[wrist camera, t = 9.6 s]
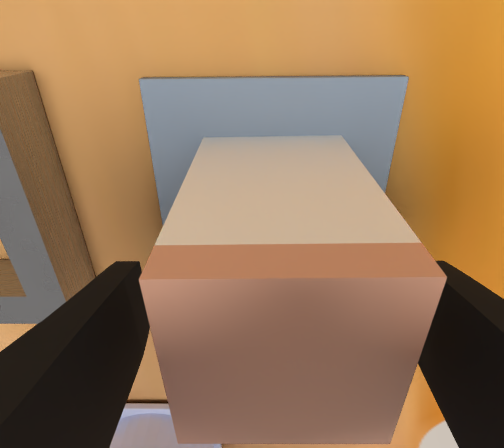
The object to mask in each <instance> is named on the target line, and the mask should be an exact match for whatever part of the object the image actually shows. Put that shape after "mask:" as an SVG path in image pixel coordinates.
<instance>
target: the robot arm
mask: <svg viewBox="0 0 504 448" xmlns="http://www.w3.org/2000/svg"><path fill="white" fill-rule="evenodd" d="M436 263H437V264H438V265H439V267H440V268H441V269H442V271H443V272H444V273H445V275H446V276H447V279H446V282H445V285H444V288H443V291H442V294H441V297H440V300H439V303H438V305H437V308H436V311H435V314H434V317H433V320H432V323H431V326H430V329H429V332H428V335H427V338H426V340H425V343H424V346H423V349H422V352H421V355H420V358H419V361H418V364H419V366H420V368H421V371H422V373H423V375H424V377H425V379H426V381H427V383H428V385H429V387H430V389H431V391H432V394H433V396H434V398H435V400H436V402H437V404H438V406H439V408H440V410H441V412H442V414H443V416H444V418H445V420H446V422H447V424H448V426H449V428H450V430H451V432H452V435H453V437H454V438H455V441H456V443H457V445H458V447H459V448H504V299H503V298H501V297H500V296H498V295H497V294H495V293H494V292H492V291H491V290H489V289H488V288H486V287H485V286H483V285H482V284H480V283H478V282H477V281H475V280H474V279H472V278H471V277H469V276H468V275H466V274H465V273H463V272H462V271H460V270H458V269H457V268H455V267H453V266H452V265H450V264H448V263H447V262H445V261H436ZM141 273H142V271H141V267H140V262H139V261H116V262H115V263H113V264H112V265H111V266H109V267H108V268H107V269H105V270H104V271H103V272H102V273H101V274H99V275H98V276H97V277H96V278H94V279H93V280H92V281H91V282H90V283H88V284H87V285H86V286H85V287H84V288H82V289H81V290H80V291H79V292H77V293H76V294H75V295H74V296H73V297H71V298H70V299H69V300H68V301H66V302H65V303H64V304H63V305H61V306H60V307H59V308H58V309H56V310H55V311H54V312H53V313H51V314H50V315H49V316H48V317H46V318H45V319H44V320H42V321H41V322H40V323H38V324H37V325H36V326H34V327H33V328H32V329H30V330H29V331H28V332H26V333H25V334H24V335H22V336H21V337H20V338H18V339H17V340H16V341H14V342H13V343H12V344H10V345H9V346H8V347H6V348H5V349H4V350H2V351H1V352H0V448H222V445H221V444H178V442H177V438H176V434H175V430H174V425H173V421H172V417H171V413H170V409H169V404H160V403H126V401H127V399H128V396H129V393H130V391H131V388H132V385H133V383H134V380H135V377H136V374H137V372H138V369H139V366H140V363H141V360H142V358H143V355H144V351H145V347H146V342H147V338H148V334H149V329H150V325H149V321H148V316H147V312H146V308H145V304H144V300H143V295H142V291H141V287H140V283H139V278H140V276H141Z"/></svg>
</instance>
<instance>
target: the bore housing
mask: <svg viewBox="0 0 504 448" xmlns="http://www.w3.org/2000/svg"><path fill="white" fill-rule="evenodd" d="M0 239H1V241H2V243H3V245H4V248H5V250H6V252H7V254H8V256H9V259H0V324H38V323H40V322H41V321H42V320H44V319H45V318H46V317H48V316H49V315H50V314H51V313H53V312H54V311H55V310H56V309H58V308H59V307H60V306H61V305H63V304H64V303H65V302H66V301H68V300H69V299H70V298H71V297H73V296H74V295H75V294H76V293H77V292H79V291H80V290H81V289H82V288H84V287H85V286H86V285H87V284H88V283H90V282H91V281H92V280H93V279H94V278H96V277H95V274H94V270H93V267H92V264H91V261H90V257H89V254H88V251H87V248H86V244H85V241H84V238H83V235H82V231H81V228H80V225H79V222H78V218H77V215H76V212H75V208H74V205H73V202H72V199H71V195H70V192H69V189H68V186H67V182H66V179H65V176H64V173H63V169H62V166H61V163H60V160H59V156H58V153H57V150H56V146H55V143H54V140H53V137H52V133H51V130H50V127H49V124H48V120H47V117H46V114H45V111H44V107H43V104H42V101H41V98H40V94H39V91H38V88H37V84H36V81H35V78H34V75H33V71H0Z"/></svg>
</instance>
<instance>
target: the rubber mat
mask: <svg viewBox="0 0 504 448" xmlns="http://www.w3.org/2000/svg"><path fill="white" fill-rule="evenodd" d="M408 78H409V77H408V76H405V75H381V76H267V77H153V78H140V79H139V83H140V89H141V95H142V101H143V108H144V114H145V120H146V126H147V132H148V138H149V144H150V150H151V156H152V162H153V169H154V175H155V181H156V187H157V193H158V199H159V205H160V211H161V217H162V223H163V225H164V223H165V221H166V219H167V216H168V214H169V212H170V210H171V208H172V205H173V203H174V201H175V199H176V197H177V194H178V192H179V190H180V188H181V186H182V183H183V181H184V179H185V177H186V175H187V172H188V170H189V168H190V166H191V164H192V161H193V159H194V157H195V155H196V153H197V150H198V148H199V146H200V144H201V142H202V139H203V137H265V136H328V135H342V137H343V138H344V139H345V141H346V142H347V143H348V145H349V146H350V148H351V149H352V150H353V152H354V153H355V154H356V156H357V157H358V158H359V160H360V161H361V162H362V164H363V165H364V166H365V168H366V169H367V170H368V172H369V173H370V174H371V176H372V177H373V178H374V180H375V181H376V182H377V184H378V185H379V186H380V188H381V189H382V190H383V192H384V193H385V190H386V185H387V181H388V176H389V171H390V166H391V161H392V156H393V151H394V147H395V142H396V137H397V132H398V127H399V122H400V117H401V112H402V108H403V103H404V98H405V93H406V88H407V83H408Z"/></svg>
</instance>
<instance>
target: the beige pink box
mask: <svg viewBox="0 0 504 448" xmlns="http://www.w3.org/2000/svg"><path fill="white" fill-rule="evenodd" d="M446 279H447V276H446V275H445V273H444V272H443V271H442V269H441V268H440V267H439V265H438V264H437V263H436V261H435V260H434V259H433V257H432V256H431V255H430V253H429V252H428V251H427V249H426V248H425V247H424V245H423V244H422V243H421V241H420V240H419V239H418V237H417V236H416V235H415V233H414V232H413V231H412V229H411V228H410V227H409V225H408V224H407V223H406V221H405V220H404V219H403V217H402V216H401V214H400V213H399V212H398V210H397V209H396V208H395V206H394V205H393V204H392V202H391V201H390V200H389V198H388V197H387V196H386V194H385V193H384V192H383V190H382V189H381V188H380V186H379V185H378V184H377V182H376V181H375V180H374V178H373V177H372V176H371V174H370V173H369V172H368V170H367V169H366V168H365V166H364V165H363V164H362V162H361V161H360V160H359V158H358V157H357V156H356V154H355V153H354V152H353V150H352V149H351V148H350V146H349V145H348V143H347V142H346V141H345V139H344V138H343V137H342V135H328V136H265V137H203V139H202V142H201V144H200V146H199V148H198V150H197V153H196V155H195V157H194V159H193V161H192V164H191V166H190V168H189V170H188V172H187V175H186V177H185V179H184V181H183V183H182V186H181V188H180V190H179V192H178V194H177V197H176V199H175V201H174V203H173V205H172V208H171V210H170V212H169V214H168V216H167V219H166V221H165V223H164V225H163V227H162V230H161V232H160V234H159V236H158V238H157V241H156V243H155V245H154V247H153V249H152V251H151V254H150V256H149V258H148V260H147V262H146V265H145V267H144V269H143V271H142V273H141V276H140V278H139V283H140V287H141V291H142V295H143V300H144V304H145V308H146V312H147V316H148V321H149V325H150V329H151V333H152V337H153V342H154V346H155V350H156V354H157V358H158V362H159V367H160V371H161V375H162V379H163V383H164V388H165V392H166V396H167V400H168V404H169V409H170V413H171V417H172V421H173V425H174V430H175V434H176V438H177V442H178V444H390V443H391V440H392V437H393V434H394V431H395V428H396V425H397V422H398V419H399V416H400V413H401V411H402V408H403V405H404V402H405V399H406V396H407V393H408V390H409V387H410V384H411V381H412V378H413V376H414V373H415V370H416V367H417V364H418V361H419V358H420V355H421V352H422V349H423V346H424V343H425V340H426V338H427V335H428V332H429V329H430V326H431V323H432V320H433V317H434V314H435V311H436V308H437V305H438V303H439V300H440V297H441V294H442V291H443V288H444V285H445V282H446Z"/></svg>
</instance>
